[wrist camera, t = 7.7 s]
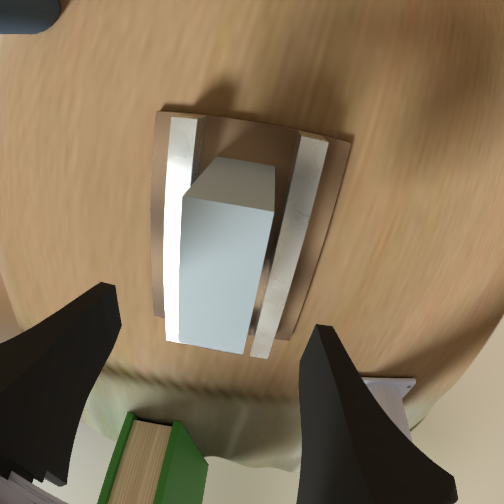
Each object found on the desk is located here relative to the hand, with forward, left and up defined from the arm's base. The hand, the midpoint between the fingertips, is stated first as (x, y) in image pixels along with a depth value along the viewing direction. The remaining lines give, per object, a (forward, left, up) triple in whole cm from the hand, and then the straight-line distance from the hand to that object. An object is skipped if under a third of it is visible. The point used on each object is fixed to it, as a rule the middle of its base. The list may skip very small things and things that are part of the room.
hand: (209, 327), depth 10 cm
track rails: (-1, 0, -8) cm, 8 cm away
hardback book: (-36, +5, -8) cm, 37 cm away
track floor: (-1, 0, -8) cm, 8 cm away
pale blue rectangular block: (+1, 0, -8) cm, 8 cm away
